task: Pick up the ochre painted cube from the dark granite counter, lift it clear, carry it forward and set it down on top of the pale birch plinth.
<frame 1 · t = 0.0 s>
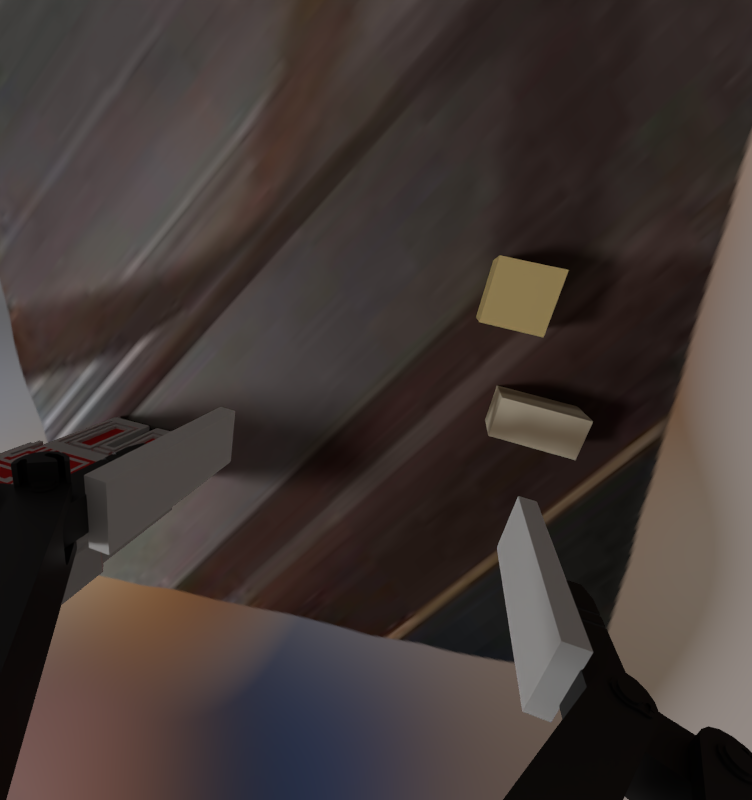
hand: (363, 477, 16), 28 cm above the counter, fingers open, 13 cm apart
ochre cube: (512, 295, 38), on the counter
birch plinth: (529, 413, 42), on the counter
toy: (157, 445, 55), on the counter
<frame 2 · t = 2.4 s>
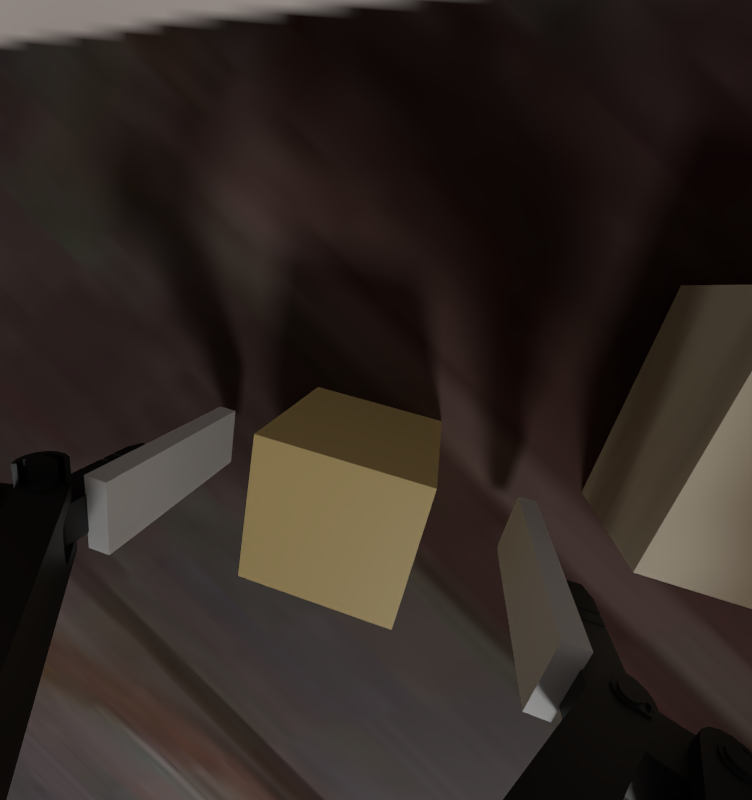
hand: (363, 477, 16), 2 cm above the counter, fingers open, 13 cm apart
ochre cube: (365, 458, 18), on the counter
birch plinth: (681, 412, 14), on the counter
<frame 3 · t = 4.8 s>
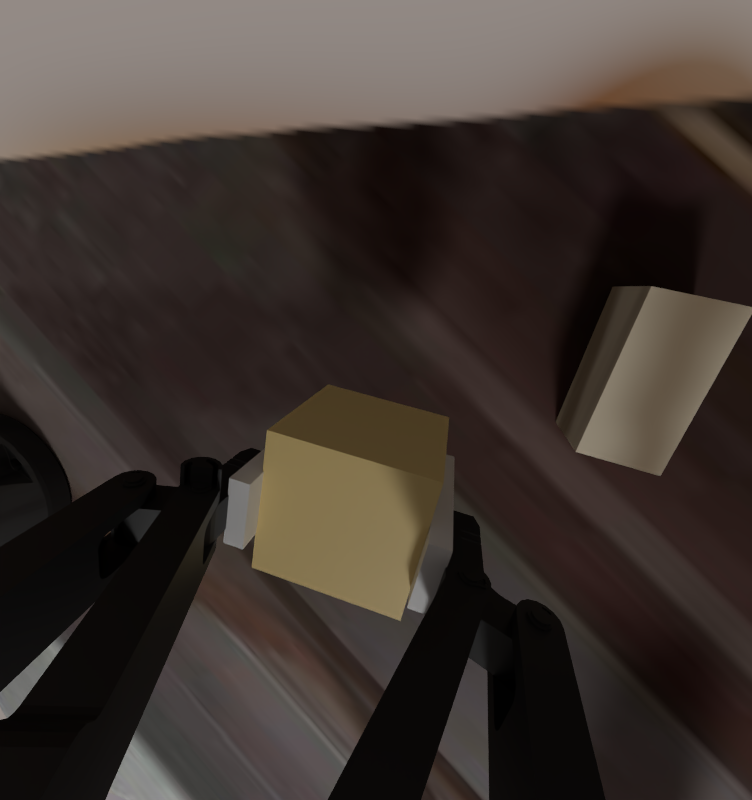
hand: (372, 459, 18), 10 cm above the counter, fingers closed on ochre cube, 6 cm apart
ochre cube: (374, 455, 18), point 9 cm above the counter, touching gripper
birch plinth: (617, 367, 23), on the counter
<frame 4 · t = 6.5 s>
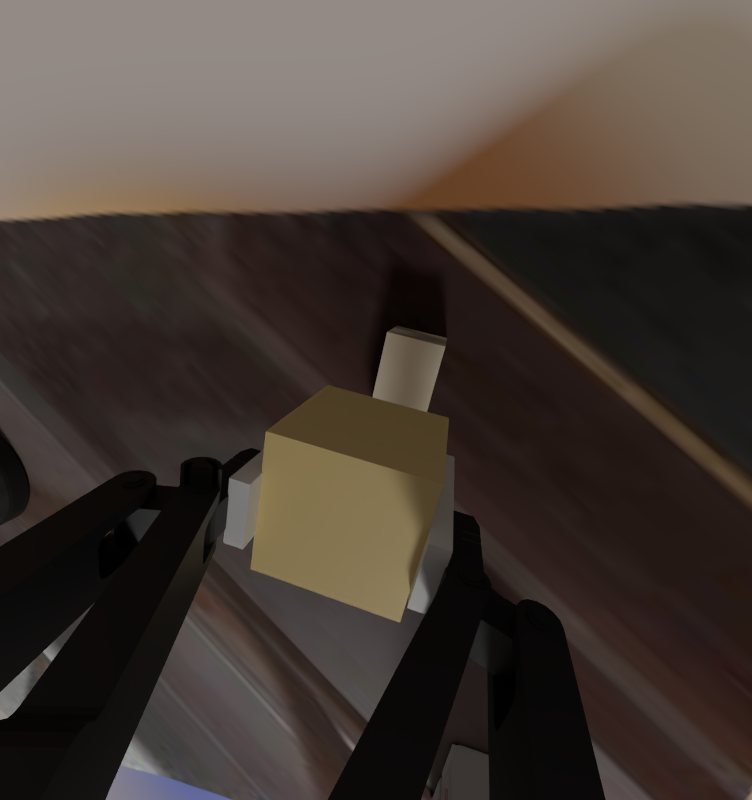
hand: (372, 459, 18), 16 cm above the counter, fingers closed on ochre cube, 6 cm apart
ochre cube: (374, 455, 18), point 15 cm above the counter, touching gripper
birch plinth: (409, 380, 33), on the counter
toy: (466, 777, 46), on the counter
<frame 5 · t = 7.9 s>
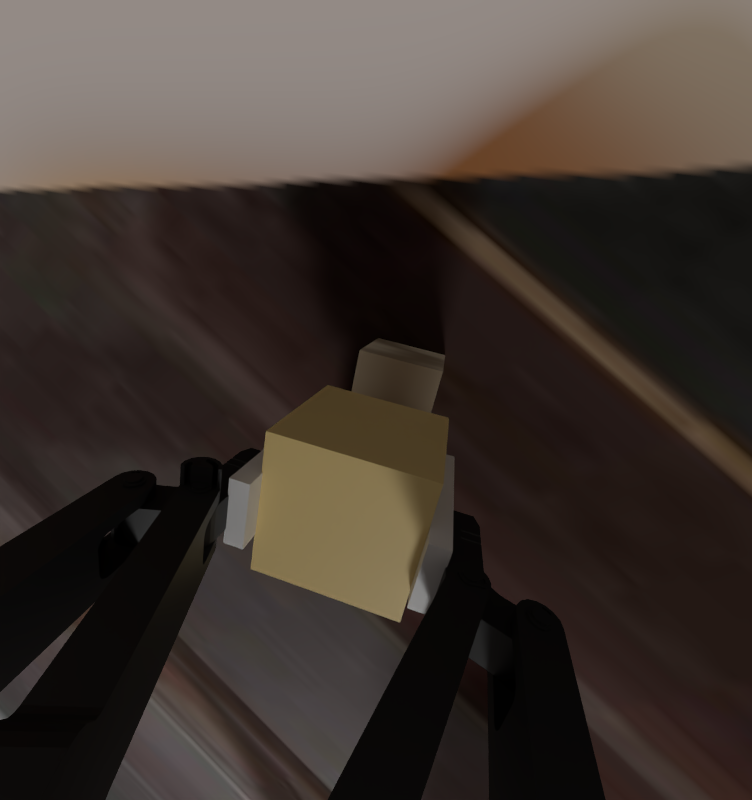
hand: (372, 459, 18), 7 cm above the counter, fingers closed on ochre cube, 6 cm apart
ochre cube: (374, 455, 18), point 7 cm above the counter, touching gripper
birch plinth: (395, 409, 25), on the counter
when the fingers open (7 cm above the counter, at t = 8.6 s): ochre cube drops 2 cm, resting on birch plinth.
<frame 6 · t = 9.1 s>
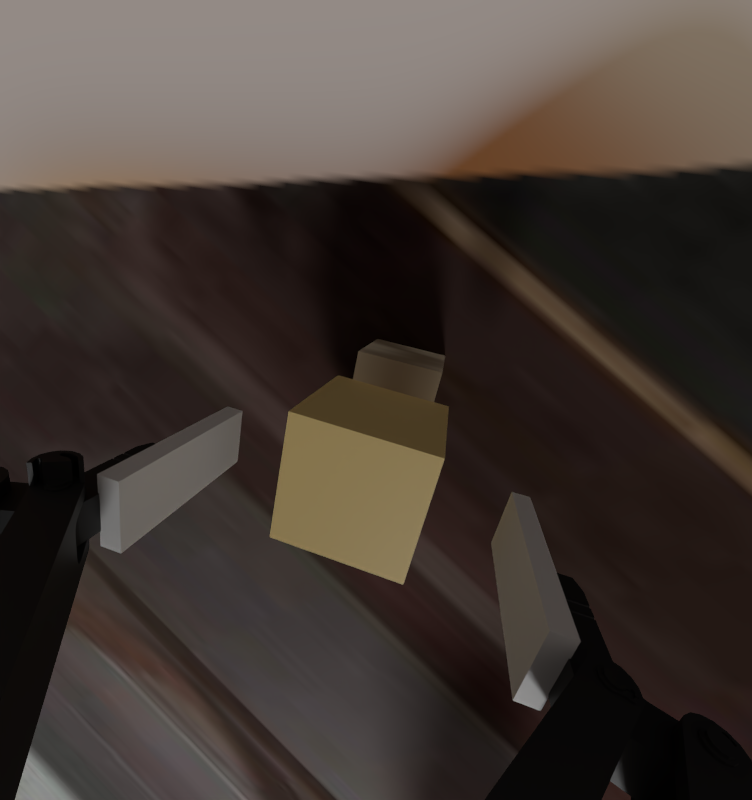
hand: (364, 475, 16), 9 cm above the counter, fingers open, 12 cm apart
ochre cube: (379, 441, 20), point 5 cm above the counter, touching birch plinth
birch plinth: (395, 411, 24), on the counter, touching ochre cube
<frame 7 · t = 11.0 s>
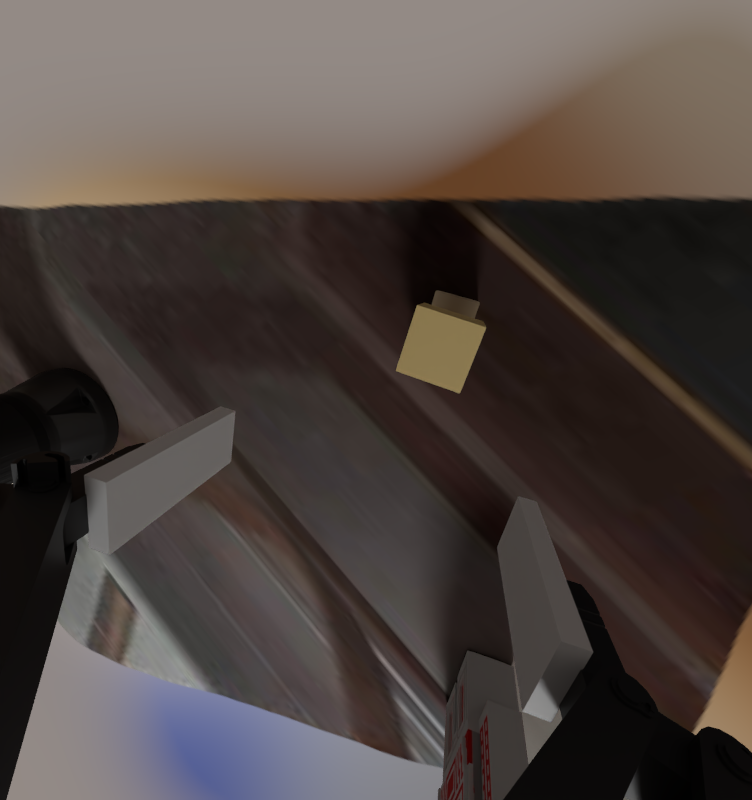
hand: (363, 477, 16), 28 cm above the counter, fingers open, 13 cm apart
ochre cube: (442, 340, 36), point 5 cm above the counter, touching birch plinth
birch plinth: (445, 335, 41), on the counter, touching ochre cube
toy: (477, 683, 55), on the counter
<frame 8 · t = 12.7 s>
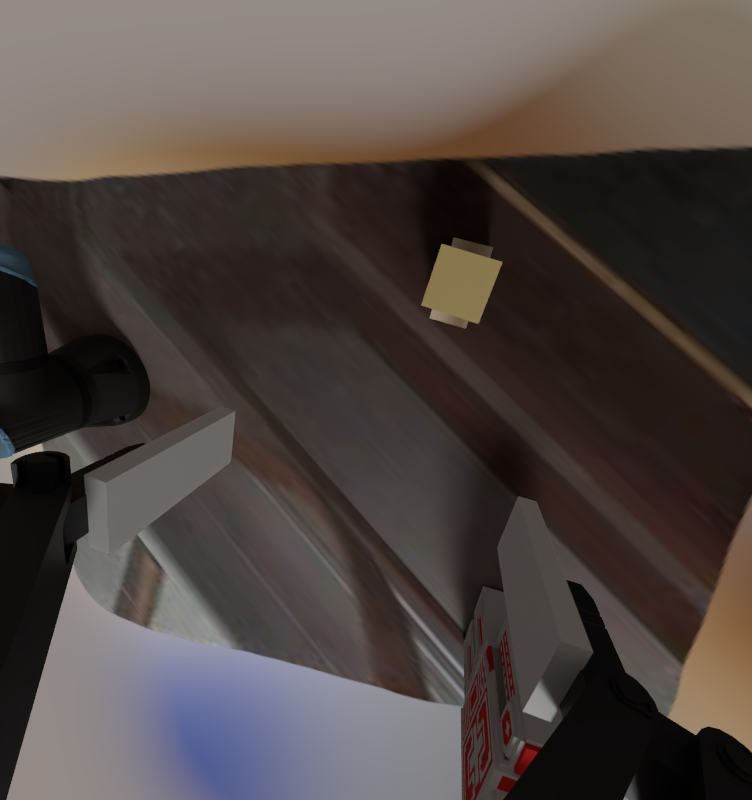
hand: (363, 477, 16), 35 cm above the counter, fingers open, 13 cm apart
ochre cube: (459, 285, 41), point 5 cm above the counter, touching birch plinth
birch plinth: (459, 284, 45), on the counter, touching ochre cube
toy: (492, 618, 59), on the counter
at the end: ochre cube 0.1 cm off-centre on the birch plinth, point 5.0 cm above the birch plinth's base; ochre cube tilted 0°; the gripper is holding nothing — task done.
